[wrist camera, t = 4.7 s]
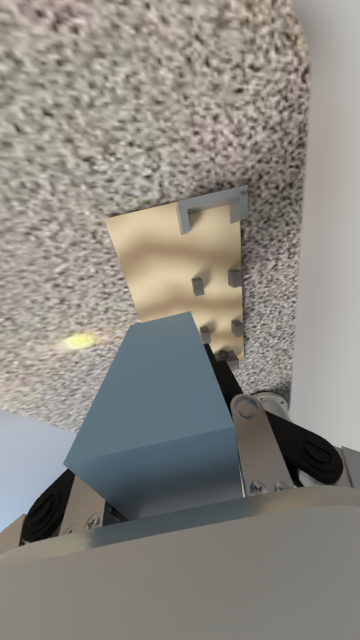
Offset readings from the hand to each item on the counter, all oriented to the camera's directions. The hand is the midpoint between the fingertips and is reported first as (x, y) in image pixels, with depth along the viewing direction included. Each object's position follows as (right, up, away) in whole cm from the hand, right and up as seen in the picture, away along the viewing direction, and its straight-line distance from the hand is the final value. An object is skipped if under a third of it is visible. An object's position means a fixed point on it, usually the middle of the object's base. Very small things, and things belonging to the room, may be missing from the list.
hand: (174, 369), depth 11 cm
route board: (+2, +6, +13) cm, 15 cm away
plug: (+1, -4, +3) cm, 6 cm away
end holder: (+4, +16, +8) cm, 18 cm away
